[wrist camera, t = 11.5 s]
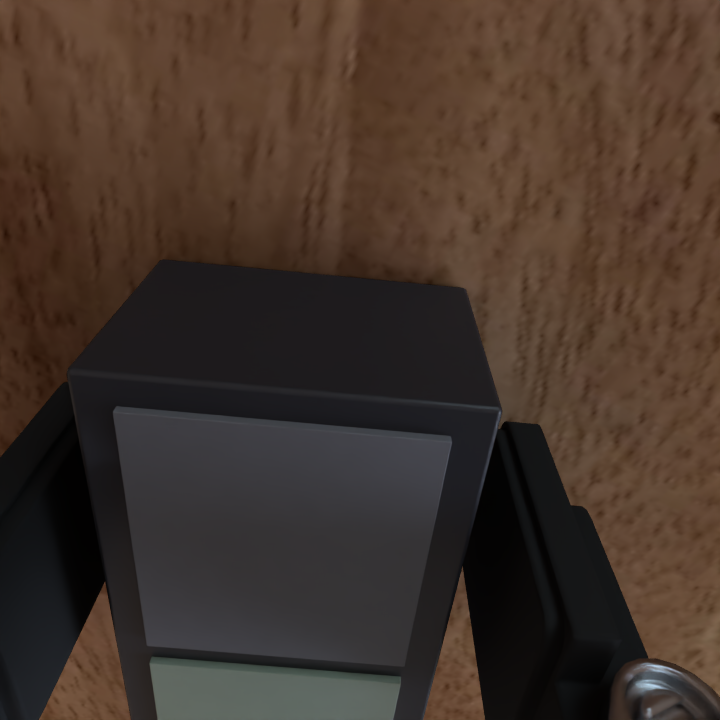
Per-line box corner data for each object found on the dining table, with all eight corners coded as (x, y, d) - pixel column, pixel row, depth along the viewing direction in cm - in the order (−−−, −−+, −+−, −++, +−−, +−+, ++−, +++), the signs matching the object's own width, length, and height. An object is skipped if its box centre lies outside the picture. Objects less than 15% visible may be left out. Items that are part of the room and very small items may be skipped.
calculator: (160, 257, 9) (58, 375, 6) (467, 286, 9) (507, 416, 6) (186, 574, 13) (129, 743, 10) (406, 593, 13) (414, 765, 10)
